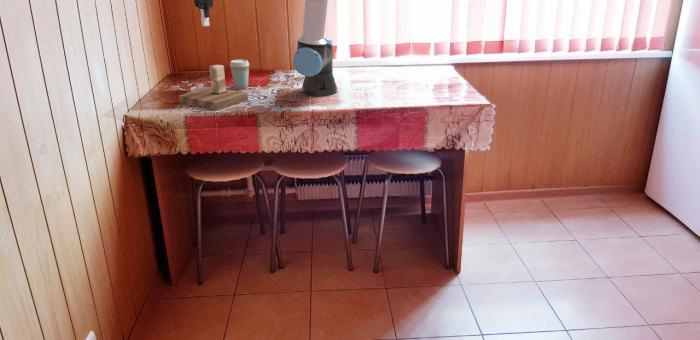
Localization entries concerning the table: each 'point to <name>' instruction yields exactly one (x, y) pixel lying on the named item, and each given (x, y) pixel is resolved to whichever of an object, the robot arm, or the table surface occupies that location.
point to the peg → (217, 79)
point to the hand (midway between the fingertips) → (205, 25)
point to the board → (213, 98)
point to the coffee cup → (240, 73)
